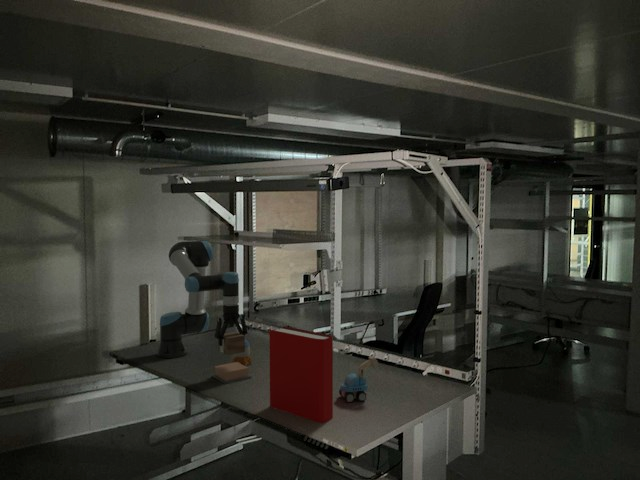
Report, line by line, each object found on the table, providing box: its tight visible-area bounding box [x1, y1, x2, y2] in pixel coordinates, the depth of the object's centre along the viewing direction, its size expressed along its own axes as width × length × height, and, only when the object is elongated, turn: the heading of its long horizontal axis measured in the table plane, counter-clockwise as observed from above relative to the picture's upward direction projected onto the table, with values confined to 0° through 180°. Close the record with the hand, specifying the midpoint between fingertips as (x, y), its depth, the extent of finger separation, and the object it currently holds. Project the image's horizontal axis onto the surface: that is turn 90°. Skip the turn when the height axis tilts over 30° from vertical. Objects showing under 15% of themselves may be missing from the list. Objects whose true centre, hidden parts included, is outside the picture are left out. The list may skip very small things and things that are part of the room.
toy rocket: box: [231, 339, 253, 367], centre depth 261 cm, size 10×11×15 cm
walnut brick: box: [217, 331, 246, 356], centre depth 244 cm, size 10×9×8 cm
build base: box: [211, 361, 252, 385], centre depth 245 cm, size 14×14×5 cm
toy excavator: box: [338, 356, 379, 403], centre depth 216 cm, size 9×17×17 cm, turn 107°
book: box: [268, 325, 334, 424], centre depth 201 cm, size 27×8×32 cm, turn 51°
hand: (231, 350), depth 244 cm, fingers closed on walnut brick, 9 cm apart
